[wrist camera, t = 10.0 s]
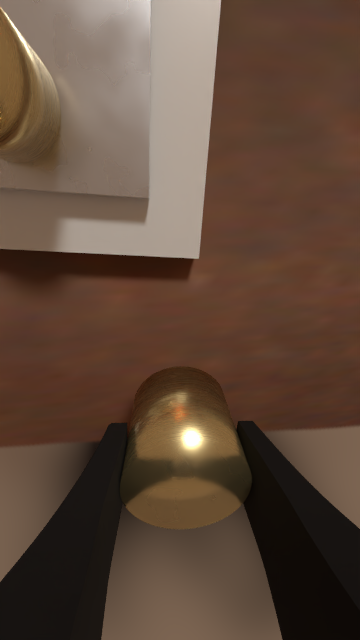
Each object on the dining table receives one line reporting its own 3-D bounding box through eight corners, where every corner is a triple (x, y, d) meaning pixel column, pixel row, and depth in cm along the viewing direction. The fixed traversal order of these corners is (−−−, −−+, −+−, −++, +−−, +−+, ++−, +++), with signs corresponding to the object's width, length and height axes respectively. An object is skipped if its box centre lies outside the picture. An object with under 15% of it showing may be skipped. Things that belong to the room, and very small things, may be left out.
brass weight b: (134, 438, 12) (121, 530, 9) (133, 365, 11) (117, 440, 7) (218, 438, 13) (240, 527, 9) (230, 367, 11) (263, 440, 7)
